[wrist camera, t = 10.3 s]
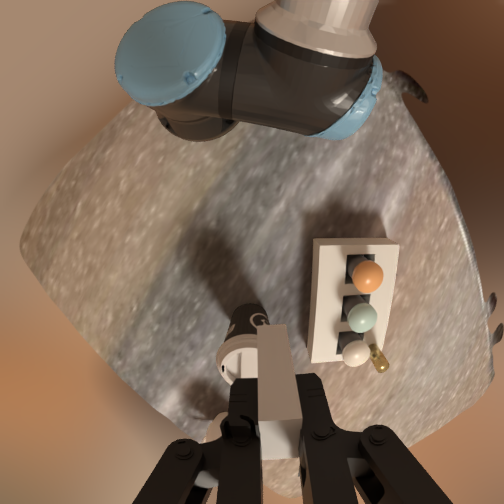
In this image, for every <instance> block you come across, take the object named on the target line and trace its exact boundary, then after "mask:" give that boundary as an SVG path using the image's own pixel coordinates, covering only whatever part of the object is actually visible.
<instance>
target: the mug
mask: <svg viewBox="0 0 504 504" xmlns="http://www.w3.org/2000/svg"><path fill="white" fill-rule="evenodd" d="M226 416H228V412H222V413H219V414H218V415H217V416H216V418H215V419H214V420H213V421H212V423H211V424H210V425H209V427H208V429H207V433H206V436H205V437H204V439H203V440H202V442H201V443H206V442H210V441H214V440H216V439H218V438H220V437H221V436H222V434H221V429H220V424H221V421H222V420H223V419H224V418H225V417H226Z"/></svg>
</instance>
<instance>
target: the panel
mask: <svg viewBox="0 0 504 504" xmlns="http://www.w3.org/2000/svg"><path fill="white" fill-rule="evenodd" d="M349 254H364V257H365V258H366V259H368V260H370V261H374V262H375V263H377V264H378V265H379V266H380V267H381V268H382V270H383V275H384V276H383V281H382V283H381V285H380V287H379V288H378V289H377V290H375V291H373V292H371V293H363V292H361V291H359V290H358V289H357V288H356V287H355V285H354V284H353V281H352V278H351V277H350V276H349V275H348V274H345V273H346V260H347V255H349ZM398 255H399V244H398V243H396V242H394V241H392V240H390V239H388V238H313V262H312V284H311V301H310V316H309V329H308V341H307V350H308V354H309V358H310V361H311V363H320V362H332V361H342V360H343V357H342V350H341V347H340V345H339V343H338V336H339V332H344V331H353V330H352V329H351V327H350V326H349V324H348V321H347V316H346V314H345V312H344V311H343V309H342V304H343V296H345V295H360V296H361V297H362V298H363V299H364V301H365V302H366V303H368V304H370V305H371V306H372V307H373V308H374V309H375V310H376V312H377V321H376V323H375V325H374V326H373V327H372V328H371V329H370V330H368V331H366V332H363V333H358V332H357V333H358V334H359V336H360V338H361V340H362V341H364V342H366V343H367V345H368V346H369V345H370V344H377V345H378V347H379V348H380V350H381V352H382V348H383V343H384V339H385V334H386V329H387V325H388V320H389V314H390V309H391V303H392V298H393V291H394V285H395V278H396V271H397V263H398Z"/></svg>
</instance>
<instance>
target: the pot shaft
mask: <svg viewBox="0 0 504 504" xmlns="http://www.w3.org/2000/svg"><path fill="white" fill-rule="evenodd" d="M368 347H369V348H370V356H369V357H370V359H371V361H372V362H373V364H374V366H375V368H376V370H377V371H378V372H379V373H382V372H385V371H386V370H387V369H388V368H389V363H388V361H387V359H386V358H385V356H384V355H383V353H382V352H381V350H380V348H379V347H378V345H377V344H370V345H369V346H368Z"/></svg>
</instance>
